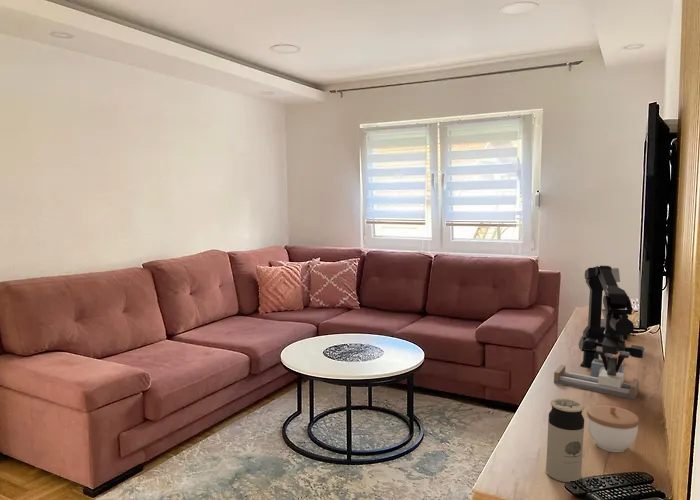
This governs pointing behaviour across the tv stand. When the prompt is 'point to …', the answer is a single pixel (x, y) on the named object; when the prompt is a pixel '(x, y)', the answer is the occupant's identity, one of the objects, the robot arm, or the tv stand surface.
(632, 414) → the lidded bowl
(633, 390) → the rail board
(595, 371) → the box
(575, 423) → the travel mug
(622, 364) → the block
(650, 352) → the tv stand surface
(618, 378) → the carriage
